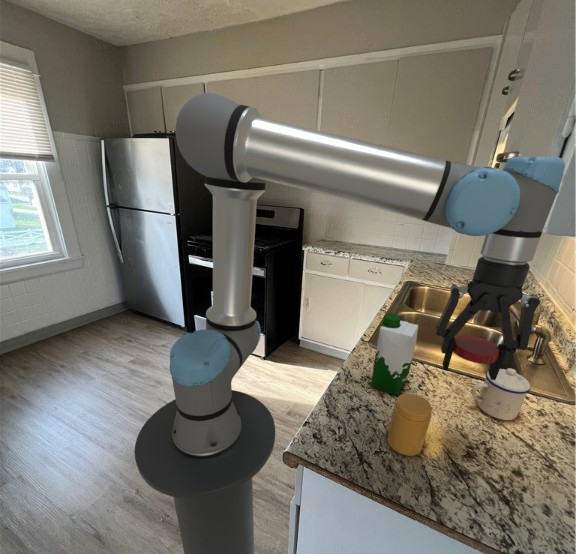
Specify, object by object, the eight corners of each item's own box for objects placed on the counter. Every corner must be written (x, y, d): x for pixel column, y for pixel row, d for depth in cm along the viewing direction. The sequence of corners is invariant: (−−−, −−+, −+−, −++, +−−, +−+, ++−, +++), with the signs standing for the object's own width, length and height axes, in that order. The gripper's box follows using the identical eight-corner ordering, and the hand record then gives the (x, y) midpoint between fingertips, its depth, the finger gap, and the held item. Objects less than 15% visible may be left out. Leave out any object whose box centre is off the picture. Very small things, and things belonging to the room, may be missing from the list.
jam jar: (385, 449, 66) (394, 410, 62) (388, 426, 72) (396, 389, 68) (422, 460, 64) (434, 420, 59) (421, 435, 70) (432, 397, 65)
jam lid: (453, 358, 59) (455, 350, 58) (450, 339, 66) (452, 332, 65) (501, 368, 56) (504, 359, 56) (493, 347, 63) (496, 339, 62)
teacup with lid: (504, 397, 83) (519, 360, 78) (526, 422, 75) (545, 382, 70) (458, 395, 83) (470, 358, 78) (475, 419, 75) (490, 379, 70)
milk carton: (376, 371, 92) (388, 309, 83) (408, 382, 88) (423, 317, 79) (367, 386, 85) (378, 320, 77) (400, 399, 81) (416, 330, 72)
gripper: (569, 261, 53) (522, 372, 63) (437, 248, 59) (413, 351, 69) (589, 272, 47) (534, 395, 56) (439, 257, 53) (413, 369, 63)
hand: (467, 371), depth 63 cm, fingers closed on jam lid, 8 cm apart
